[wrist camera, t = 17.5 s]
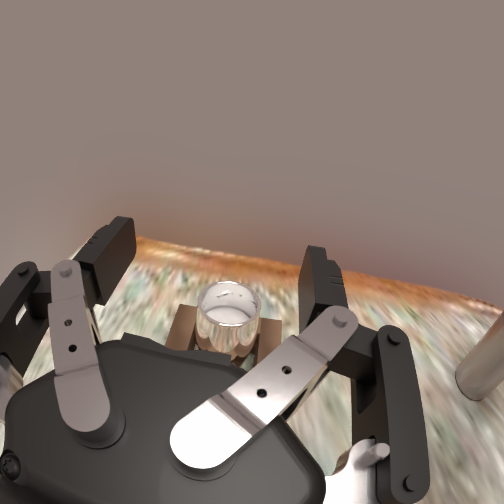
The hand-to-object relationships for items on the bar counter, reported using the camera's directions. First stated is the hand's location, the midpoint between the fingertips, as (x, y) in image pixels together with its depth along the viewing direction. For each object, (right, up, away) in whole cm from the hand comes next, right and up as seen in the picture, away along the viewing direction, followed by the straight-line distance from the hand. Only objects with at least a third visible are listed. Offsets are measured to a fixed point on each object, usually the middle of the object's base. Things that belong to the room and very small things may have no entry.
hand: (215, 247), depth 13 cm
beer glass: (-3, -17, +26) cm, 31 cm away
